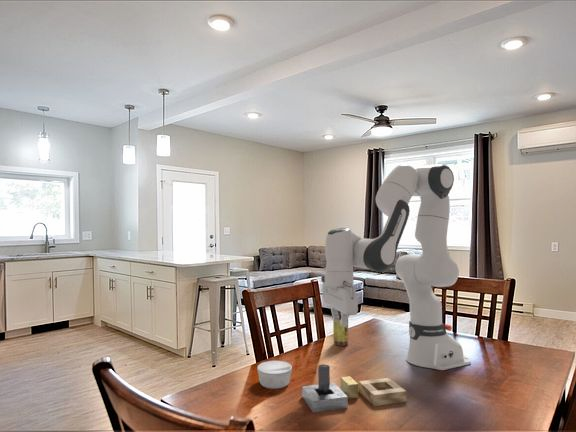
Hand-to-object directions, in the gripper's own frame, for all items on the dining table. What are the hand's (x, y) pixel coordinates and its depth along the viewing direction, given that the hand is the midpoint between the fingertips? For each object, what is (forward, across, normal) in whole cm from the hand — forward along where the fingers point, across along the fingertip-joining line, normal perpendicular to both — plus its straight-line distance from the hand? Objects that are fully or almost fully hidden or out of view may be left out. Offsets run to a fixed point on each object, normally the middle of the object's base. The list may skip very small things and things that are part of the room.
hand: (339, 323), depth 123 cm
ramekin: (+20, +7, +20) cm, 28 cm away
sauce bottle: (+19, +39, -16) cm, 47 cm away
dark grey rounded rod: (+19, -10, +9) cm, 23 cm away
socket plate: (+19, -10, +9) cm, 23 cm away
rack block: (+19, -11, -8) cm, 24 cm away
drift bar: (+19, -7, 0) cm, 20 cm away
